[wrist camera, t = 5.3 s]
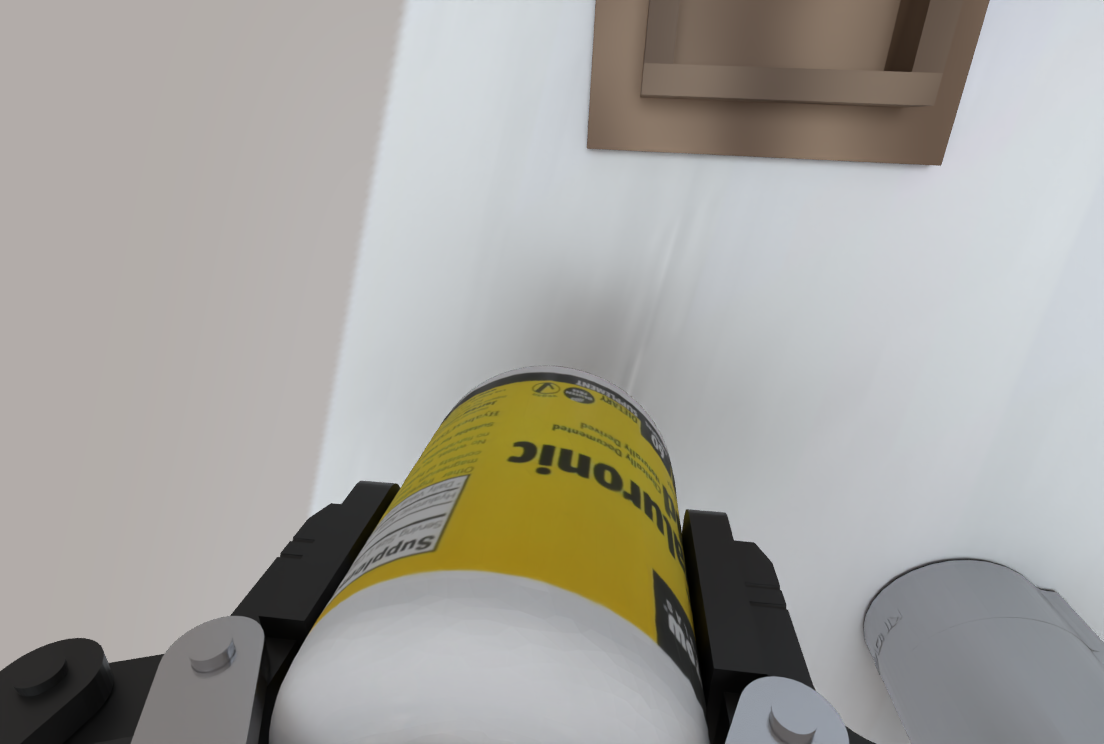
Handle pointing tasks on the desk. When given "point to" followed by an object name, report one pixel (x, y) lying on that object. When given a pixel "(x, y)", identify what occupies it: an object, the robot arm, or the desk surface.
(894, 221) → the desk surface
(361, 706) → the supplement bottle
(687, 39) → the cup holder
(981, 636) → the robot arm
